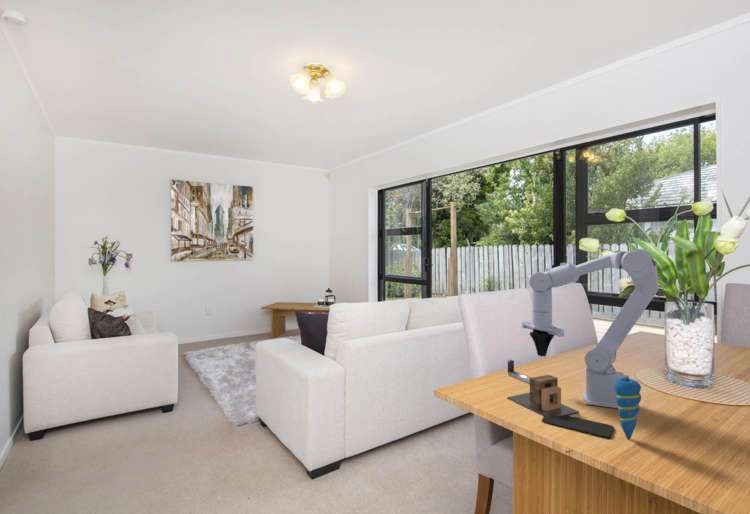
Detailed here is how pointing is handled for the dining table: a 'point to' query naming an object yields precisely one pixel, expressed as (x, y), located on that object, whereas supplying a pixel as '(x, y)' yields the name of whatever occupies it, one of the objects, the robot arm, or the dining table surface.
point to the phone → (581, 425)
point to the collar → (556, 398)
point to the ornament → (628, 403)
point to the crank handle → (516, 374)
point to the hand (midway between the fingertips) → (541, 355)
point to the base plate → (525, 401)
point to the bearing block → (539, 384)
